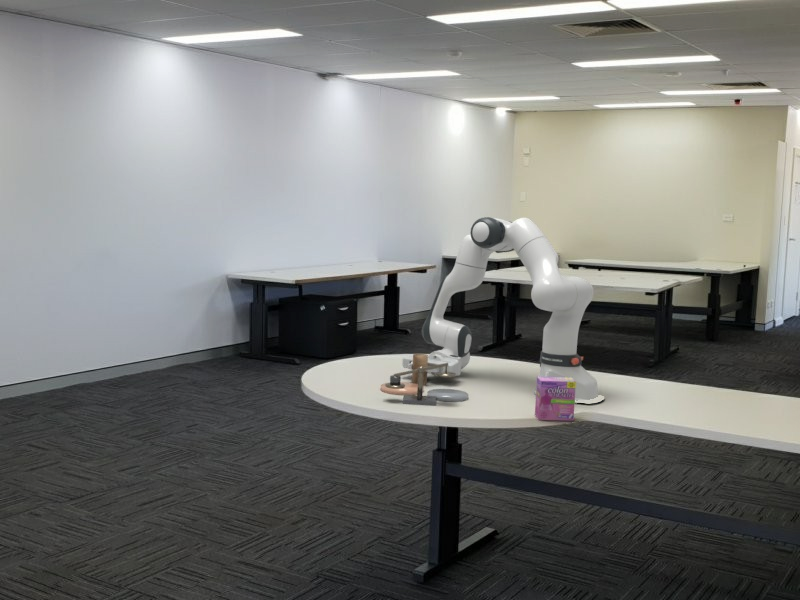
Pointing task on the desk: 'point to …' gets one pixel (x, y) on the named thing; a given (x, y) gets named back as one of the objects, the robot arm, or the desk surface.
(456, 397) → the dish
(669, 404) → the desk surface
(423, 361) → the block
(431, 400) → the balance
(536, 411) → the box
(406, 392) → the dish
